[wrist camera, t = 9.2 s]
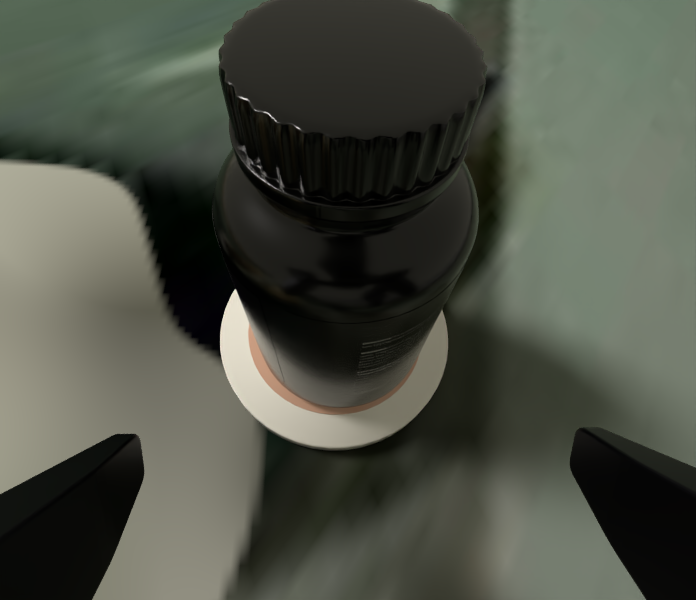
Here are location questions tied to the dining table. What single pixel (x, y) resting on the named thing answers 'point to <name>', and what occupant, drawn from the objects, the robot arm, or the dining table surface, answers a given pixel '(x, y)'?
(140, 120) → the dining table surface
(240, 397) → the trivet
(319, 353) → the supplement bottle
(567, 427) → the dining table surface
